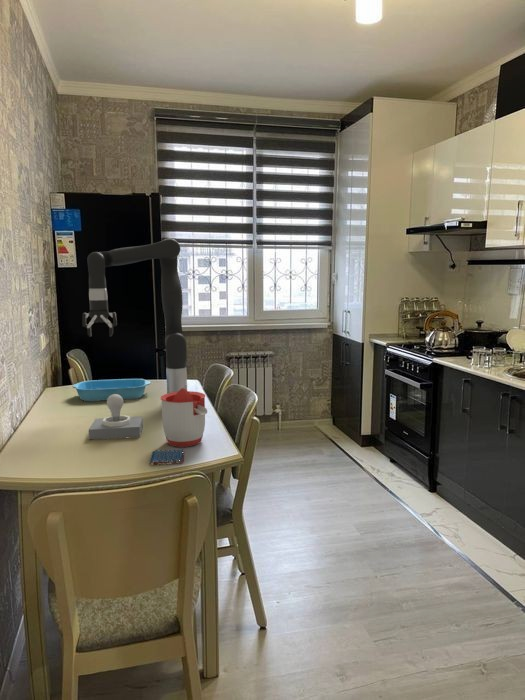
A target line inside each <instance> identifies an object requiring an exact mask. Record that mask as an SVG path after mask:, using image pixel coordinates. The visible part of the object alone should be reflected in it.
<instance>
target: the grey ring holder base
mask: <svg viewBox="0 0 525 700" xmlns="http://www.w3.org/2000/svg"><path fill="white" fill-rule="evenodd" d="M143 428H144V418H143V416H129V415H125V414H120V420H119V421H118V422H113V419H112V415H110V416H107V417H101V418H94V420H93V422H92V424H91V425H89V428H88V440H89V439H101V440H108V439H107V438H119V439H127V438H126V437H137V438H141V435H142V432H141V431H142V430H143Z"/></svg>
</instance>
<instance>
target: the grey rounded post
mask: <svg viewBox="0 0 525 700" xmlns="http://www.w3.org/2000/svg"><path fill="white" fill-rule="evenodd" d="M124 401H125V400H123V398H122V397H121V396H120V395H118V394H113V395H111V396H109V397H108V399H107V401H106V405H107V407H108V409H109V411H110V414H111V415H110V416H112V419H113V422H118V421H119V420H120V415H121V411H122V408H123V405H124Z"/></svg>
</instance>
